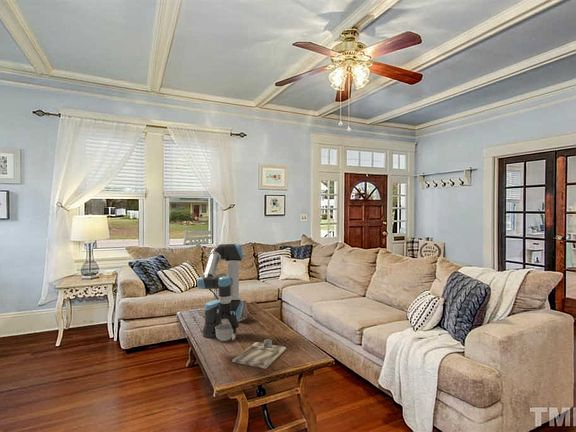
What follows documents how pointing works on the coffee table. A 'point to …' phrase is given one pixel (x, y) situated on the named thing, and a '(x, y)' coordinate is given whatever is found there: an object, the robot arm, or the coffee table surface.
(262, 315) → the coffee table surface
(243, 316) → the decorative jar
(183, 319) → the coffee table surface
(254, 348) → the carrier board
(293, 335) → the coffee table surface
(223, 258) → the robot arm
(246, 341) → the coffee table surface
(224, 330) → the teacup
